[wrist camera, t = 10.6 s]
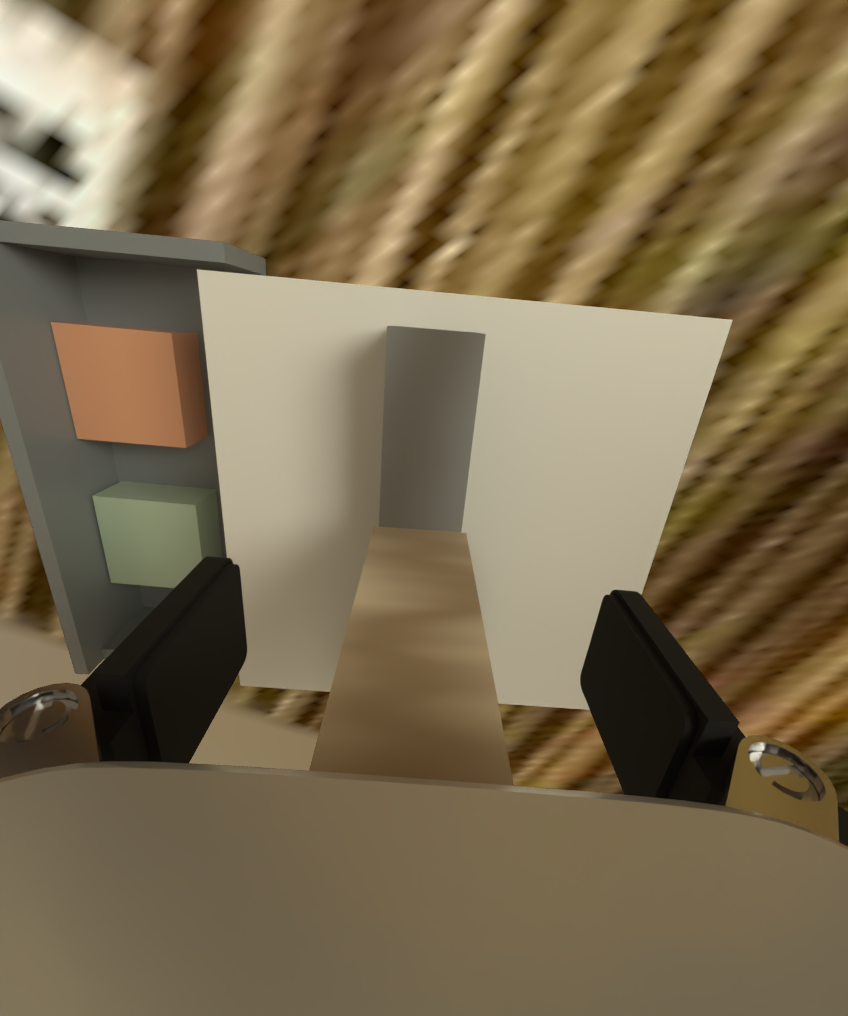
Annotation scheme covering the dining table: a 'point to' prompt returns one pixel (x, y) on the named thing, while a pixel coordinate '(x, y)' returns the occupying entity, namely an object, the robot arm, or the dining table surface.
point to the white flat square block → (492, 472)
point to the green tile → (156, 531)
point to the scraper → (419, 589)
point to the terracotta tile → (132, 383)
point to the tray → (47, 415)
